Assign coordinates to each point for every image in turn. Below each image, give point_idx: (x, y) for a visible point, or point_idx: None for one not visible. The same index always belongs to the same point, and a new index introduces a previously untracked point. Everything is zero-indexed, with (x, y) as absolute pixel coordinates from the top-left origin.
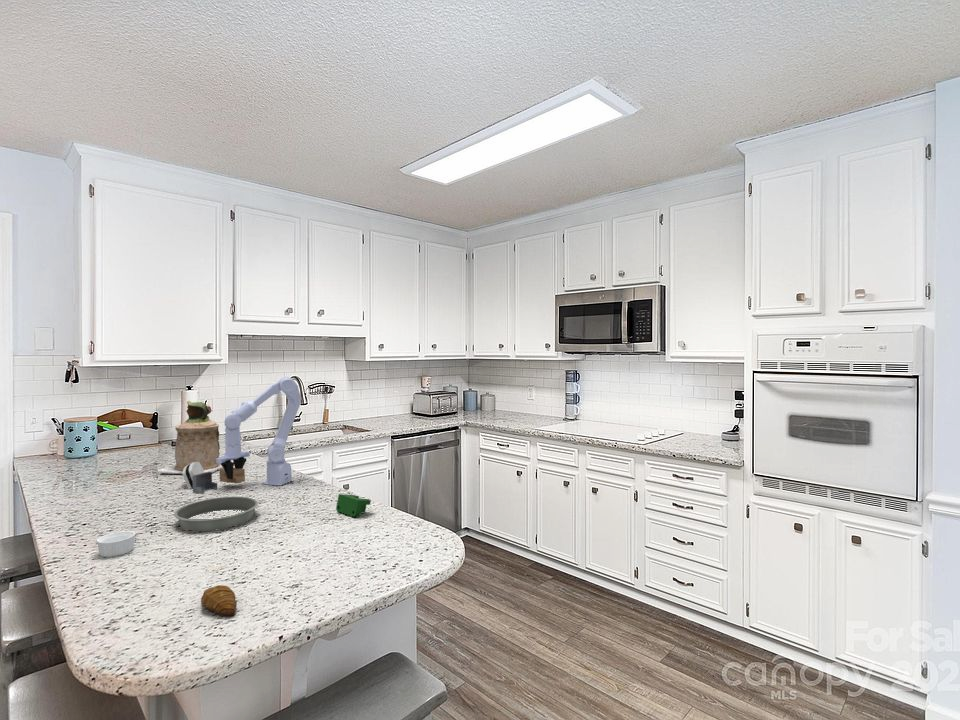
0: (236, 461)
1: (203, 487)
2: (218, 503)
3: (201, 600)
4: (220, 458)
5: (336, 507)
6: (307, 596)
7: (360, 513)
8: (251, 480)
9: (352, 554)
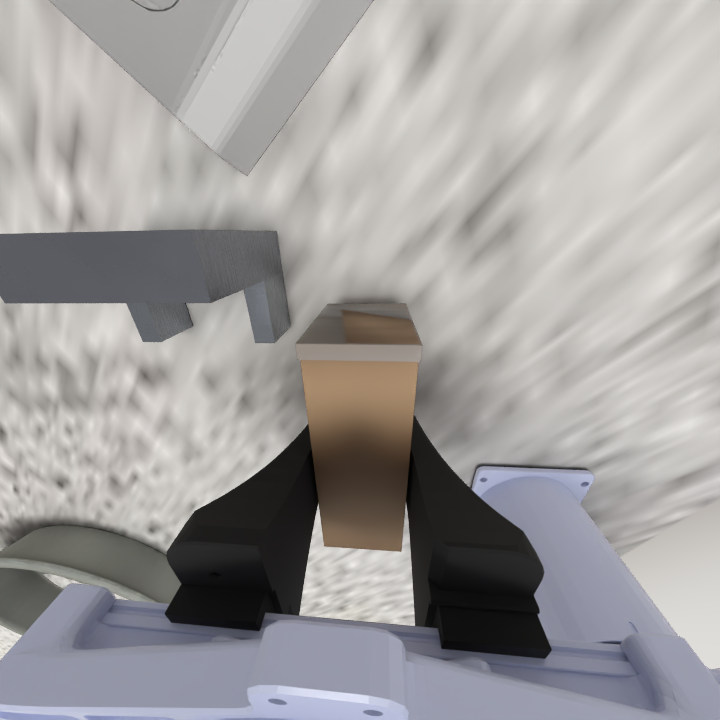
0: (423, 562)
1: (162, 339)
2: (124, 569)
3: None
4: (49, 715)
5: None
6: None
7: None
8: (555, 355)
9: None
